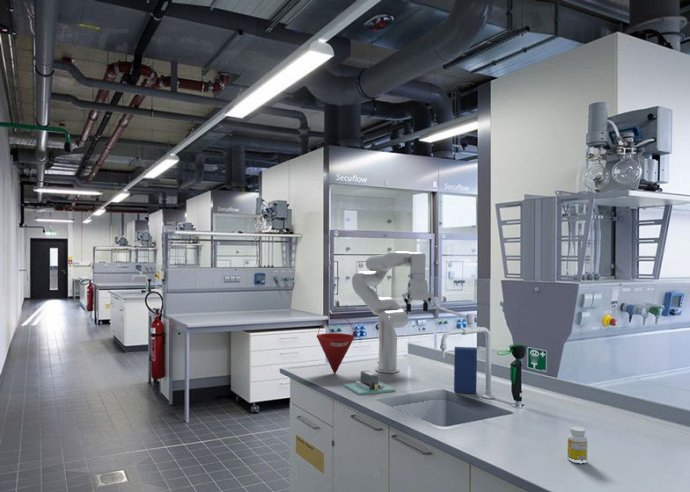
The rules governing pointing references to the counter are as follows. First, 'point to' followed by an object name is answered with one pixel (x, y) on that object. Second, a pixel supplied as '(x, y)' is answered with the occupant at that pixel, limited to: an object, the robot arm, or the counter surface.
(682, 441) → the counter surface
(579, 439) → the supplement bottle
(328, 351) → the fire bucket
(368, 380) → the block
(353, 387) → the docking tray
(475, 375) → the electronic device
